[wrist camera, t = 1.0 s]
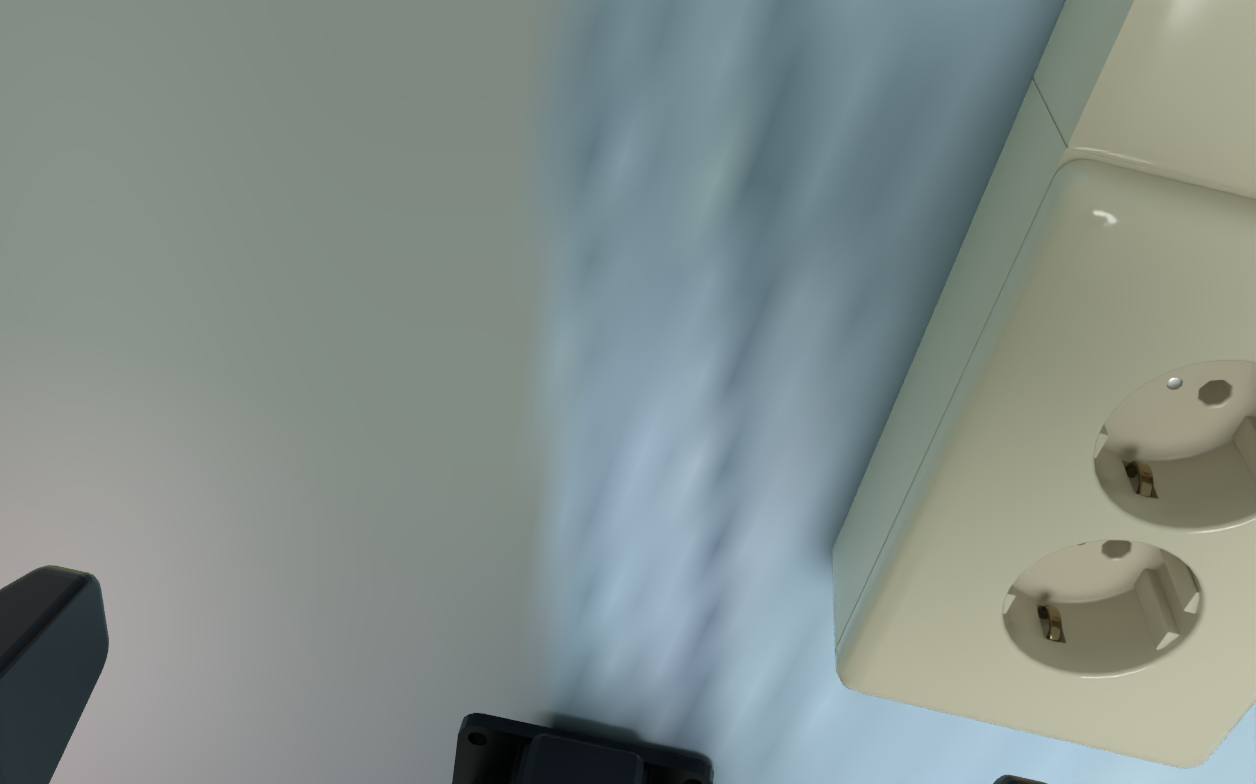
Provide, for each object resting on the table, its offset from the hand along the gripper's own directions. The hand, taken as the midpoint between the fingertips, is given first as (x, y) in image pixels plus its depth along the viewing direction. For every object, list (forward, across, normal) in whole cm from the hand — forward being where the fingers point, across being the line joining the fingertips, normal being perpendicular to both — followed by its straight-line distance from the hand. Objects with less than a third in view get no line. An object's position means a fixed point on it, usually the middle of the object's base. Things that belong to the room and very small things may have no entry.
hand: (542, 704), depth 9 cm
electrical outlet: (+13, -9, 0) cm, 15 cm away
